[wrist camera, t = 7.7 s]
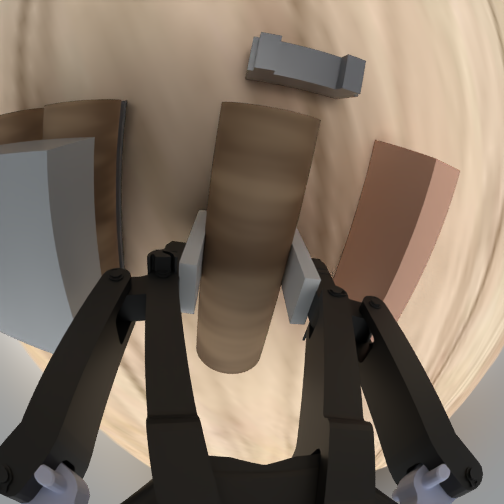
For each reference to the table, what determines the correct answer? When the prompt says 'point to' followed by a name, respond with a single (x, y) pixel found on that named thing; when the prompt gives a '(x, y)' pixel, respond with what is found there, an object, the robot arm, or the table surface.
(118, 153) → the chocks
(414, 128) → the table surface
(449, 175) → the block
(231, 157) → the roller
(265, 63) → the rack
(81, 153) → the slab
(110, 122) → the roller
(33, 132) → the roller
